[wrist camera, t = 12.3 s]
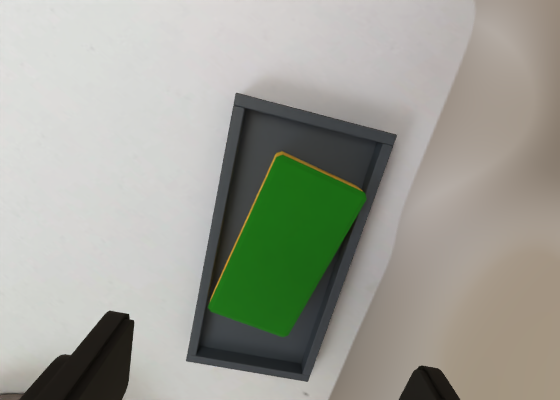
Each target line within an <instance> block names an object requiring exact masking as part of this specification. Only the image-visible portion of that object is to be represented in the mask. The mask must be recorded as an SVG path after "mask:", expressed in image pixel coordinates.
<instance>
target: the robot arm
mask: <svg viewBox="0 0 560 400" xmlns="http://www.w3.org/2000/svg"><path fill="white" fill-rule="evenodd" d="M133 331H134V320H129V314H125V313H120V312H114V311H108V312H107V313H106V314H105V315H104V316H103V317H102V318H101V320H100V321H99V322H98V323H97V325H96V326H95V327H94V328H93V329H92V331H91V332H90V333H89V334H88V335H87V337H86V338H85V339H84V340H83V341H82V343H81V344H80V345H79V346H78V347H77V349H76V350H75V351H74V352H73V353H72V355H66V354H64V355H60V356H59V357H57V358H56V359H55V360H54V361H53V362H52V363H51V364H50V365H49V366H48V367H47V368H46V370H45V371H44V372H43V373H42V374H41V375H40V376H39V378H38V379H37V380H36V381H35V382H34V383H33V384H32V385H31V387H30V388H29V389H28V390H27V391H26V392H25V393H24V395H23V396H22V397H21V398H20V399H19V400H122V398H123V396H124V394H125V392H126V389H127V386H128V381H129V371H130V361H131V351H132V341H133ZM399 400H460V398H459V397H458V395H457V394H456V392H455V391H454V389H453V388H452V386H451V385H450V383H449V381H448V380H447V378H446V377H445V375H444V374H443V373H442V371H441V370H439V369H438V368H433V367H427V366H419V367H418V368H417V369H416V370H414V372H413V373H412V375H411V377H410V379H409V381H408V383H407V385H406V387H405V389H404V391H403V392H402V394H401V396H400V398H399Z"/></svg>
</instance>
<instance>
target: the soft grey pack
mask: <svg viewBox="0 0 560 400" xmlns="http://www.w3.org/2000/svg"><path fill="white" fill-rule="evenodd" d="M23 395H24V394H5V395H0V400H19V399H20V398H21V397H22V396H23Z"/></svg>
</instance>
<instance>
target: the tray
mask: <svg viewBox="0 0 560 400" xmlns="http://www.w3.org/2000/svg"><path fill="white" fill-rule="evenodd" d="M396 137H397V135H396V134H392V133H388V132H384V131H380V130H377V129H373V128H369V127H365V126H361V125H357V124H354V123H350V122H346V121H342V120H338V119H334V118H331V117H327V116H323V115H319V114H315V113H312V112H308V111H304V110H300V109H296V108H292V107H289V106H285V105H281V104H277V103H273V102H269V101H266V100H262V99H258V98H254V97H250V96H247V95H243V94H239V93H236V94H235V100H234V106H233V111H232V116H231V122H230V127H229V132H228V138H227V143H226V149H225V154H224V159H223V165H222V170H221V176H220V181H219V186H218V192H217V197H216V203H215V208H214V213H213V219H212V224H211V229H210V235H209V240H208V246H207V251H206V256H205V262H204V267H203V273H202V278H201V283H200V289H199V294H198V300H197V305H196V310H195V316H194V321H193V327H192V332H191V337H190V343H189V348H188V354H187V359H186V361H188V362H194V363H200V364H206V365H212V366H218V367H224V368H230V369H235V370H241V371H247V372H253V373H259V374H265V375H271V376H277V377H283V378H289V379H294V380H300V381H306V382H308V380H309V377H310V374H311V372H312V369H313V366H314V363H315V361H316V358H317V355H318V352H319V350H320V347H321V344H322V341H323V339H324V336H325V333H326V330H327V328H328V325H329V322H330V319H331V316H332V314H333V311H334V308H335V305H336V303H337V300H338V297H339V294H340V292H341V289H342V286H343V283H344V281H345V278H346V275H347V272H348V270H349V267H350V264H351V261H352V259H353V256H354V253H355V250H356V247H357V245H358V242H359V239H360V236H361V234H362V231H363V228H364V225H365V223H366V220H367V217H368V214H369V212H370V209H371V206H372V203H373V201H374V198H375V195H376V192H377V189H378V187H379V184H380V181H381V178H382V176H383V173H384V170H385V167H386V165H387V162H388V159H389V156H390V154H391V151H392V148H393V145H394V142H395V139H396ZM281 151H283V152H285V153H287V154H289V155H291V156H293V157H296V158H298V159H300V160H302V161H304V162H306V163H309V164H311V165H313V166H315V167H317V168H319V169H322V170H324V171H326V172H328V173H330V174H332V175H335V176H337V177H339V178H341V179H343V180H345V181H347V182H350V183H352V184H354V185H356V186H357V187H359V188H360V189H361V190H362V191H363V192H364V193H365V195H366V198H367V200H366V201H365V203H364V205H363V207H362V208H361V210H360V212H359V213H358V215H357V217H356V219H355V220H354V222H353V224H352V226H351V227H350V229H349V231H348V233H347V234H346V236H345V238H344V240H343V241H342V243H341V245H340V246H339V248H338V250H337V252H336V253H335V255H334V257H333V259H332V260H331V262H330V264H329V266H328V267H327V269H326V271H325V273H324V274H323V276H322V278H321V279H320V281H319V283H318V285H317V286H316V288H315V290H314V292H313V293H312V295H311V297H310V299H309V300H308V302H307V304H306V306H305V307H304V309H303V311H302V312H301V314H300V316H299V318H298V319H297V321H296V323H295V325H294V326H293V328H292V330H291V332H290V333H289V335H288V336H286V337H280V336H278V335H275V334H272V333H269V332H266V331H263V330H261V329H258V328H255V327H252V326H249V325H247V324H244V323H241V322H238V321H235V320H233V319H230V318H227V317H224V316H221V315H219V314H216V313H213V312H210V310H209V308H208V306H209V303H210V300H211V297H212V294H213V291H214V289H215V287H216V284H217V282H218V280H219V278H220V276H221V273H222V271H223V269H224V267H225V265H226V262H227V260H228V258H229V256H230V254H231V251H232V249H233V247H234V245H235V242H236V240H237V238H238V236H239V234H240V231H241V229H242V227H243V225H244V223H245V220H246V218H247V216H248V214H249V212H250V209H251V207H252V205H253V203H254V201H255V198H256V196H257V194H258V192H259V190H260V187H261V185H262V183H263V181H264V179H265V176H266V174H267V172H268V170H269V167H270V165H271V163H272V161H273V159H274V156H275V154H276V153H278V152H281Z"/></svg>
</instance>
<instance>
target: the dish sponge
mask: <svg viewBox="0 0 560 400" xmlns="http://www.w3.org/2000/svg"><path fill="white" fill-rule="evenodd" d="M366 200H367V198H366V195H365V193H364V192H363V191H362V190H361V189H360V188H359V187H357V186H356V185H354V184H352V183H350V182H347V181H345V180H343V179H341V178H339V177H337V176H335V175H332V174H330V173H328V172H326V171H324V170H322V169H319V168H317V167H315V166H313V165H311V164H309V163H306V162H304V161H302V160H300V159H298V158H296V157H293V156H291V155H289V154H287V153H285V152H283V151H281V152H278V153H276V154H275V156H274V159H273V161H272V163H271V165H270V167H269V170H268V172H267V174H266V176H265V179H264V181H263V183H262V185H261V187H260V190H259V192H258V194H257V196H256V198H255V201H254V203H253V205H252V207H251V209H250V212H249V214H248V216H247V218H246V220H245V223H244V225H243V227H242V229H241V231H240V234H239V236H238V238H237V240H236V242H235V245H234V247H233V249H232V251H231V254H230V256H229V258H228V260H227V262H226V265H225V267H224V269H223V271H222V273H221V276H220V278H219V280H218V282H217V284H216V287H215V289H214V291H213V294H212V297H211V300H210V303H209V306H208V308H209V310H210V312H213V313H216V314H219V315H221V316H224V317H227V318H230V319H233V320H235V321H238V322H241V323H244V324H247V325H249V326H252V327H255V328H258V329H261V330H263V331H266V332H269V333H272V334H275V335H278V336H280V337H286V336H288V335H289V333H290V332H291V330H292V328H293V326H294V325H295V323H296V321H297V319H298V318H299V316H300V314H301V312H302V311H303V309H304V307H305V306H306V304H307V302H308V300H309V299H310V297H311V295H312V293H313V292H314V290H315V288H316V286H317V285H318V283H319V281H320V279H321V278H322V276H323V274H324V273H325V271H326V269H327V267H328V266H329V264H330V262H331V260H332V259H333V257H334V255H335V253H336V252H337V250H338V248H339V246H340V245H341V243H342V241H343V240H344V238H345V236H346V234H347V233H348V231H349V229H350V227H351V226H352V224H353V222H354V220H355V219H356V217H357V215H358V213H359V212H360V210H361V208H362V207H363V205H364V203H365V201H366Z"/></svg>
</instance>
